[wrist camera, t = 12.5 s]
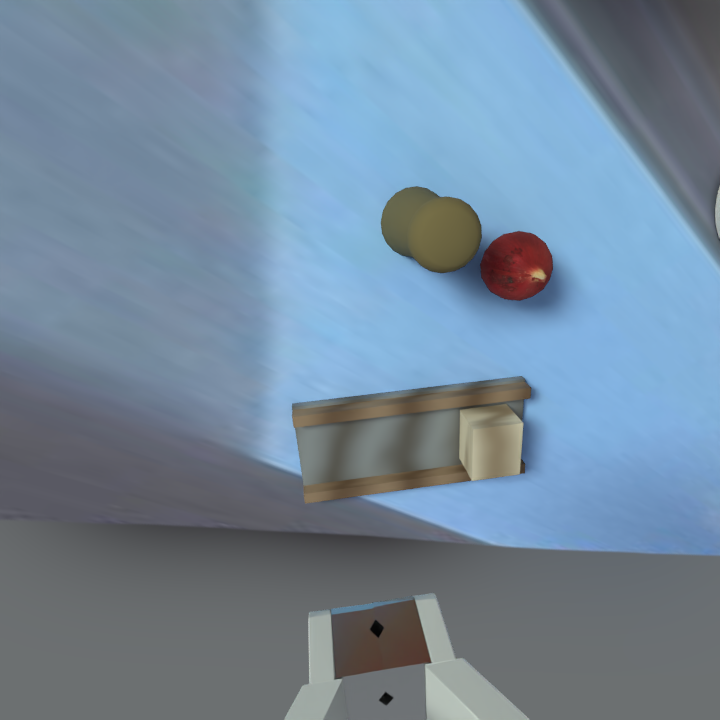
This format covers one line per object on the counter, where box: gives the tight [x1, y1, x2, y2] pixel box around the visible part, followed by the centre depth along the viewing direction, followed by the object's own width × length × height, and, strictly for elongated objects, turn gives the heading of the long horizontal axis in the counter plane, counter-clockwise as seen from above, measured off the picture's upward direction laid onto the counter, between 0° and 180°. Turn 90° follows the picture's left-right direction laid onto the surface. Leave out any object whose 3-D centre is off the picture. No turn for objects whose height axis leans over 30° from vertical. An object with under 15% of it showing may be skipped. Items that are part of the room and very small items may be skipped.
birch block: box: [459, 404, 523, 481], centre depth 47 cm, size 5×6×4 cm
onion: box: [480, 231, 553, 300], centre depth 40 cm, size 6×6×8 cm
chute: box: [292, 376, 531, 503], centre depth 48 cm, size 24×11×2 cm, turn 94°
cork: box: [381, 186, 482, 273], centre depth 36 cm, size 6×6×11 cm
